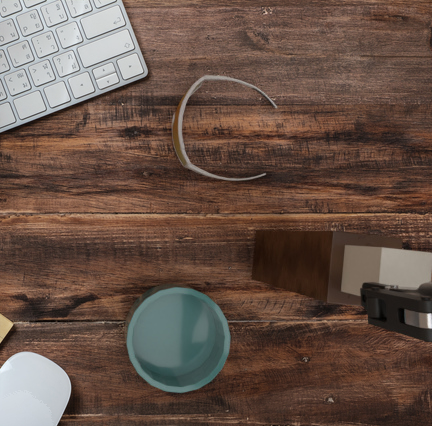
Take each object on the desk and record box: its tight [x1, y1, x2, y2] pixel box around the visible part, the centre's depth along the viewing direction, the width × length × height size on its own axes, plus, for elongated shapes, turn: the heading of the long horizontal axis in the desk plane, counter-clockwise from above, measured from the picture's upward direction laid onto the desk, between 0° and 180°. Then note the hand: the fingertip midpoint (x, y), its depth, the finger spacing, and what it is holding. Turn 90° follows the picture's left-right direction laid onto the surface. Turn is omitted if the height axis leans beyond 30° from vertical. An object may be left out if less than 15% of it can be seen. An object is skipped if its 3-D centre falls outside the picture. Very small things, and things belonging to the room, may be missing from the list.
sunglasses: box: [171, 74, 278, 182], centre depth 67 cm, size 14×15×5 cm
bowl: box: [123, 282, 232, 394], centre depth 65 cm, size 14×14×5 cm
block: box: [341, 245, 432, 296], centre depth 44 cm, size 4×4×6 cm
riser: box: [251, 229, 404, 307], centre depth 58 cm, size 7×7×22 cm
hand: (417, 292), depth 39 cm, fingers open, 8 cm apart
